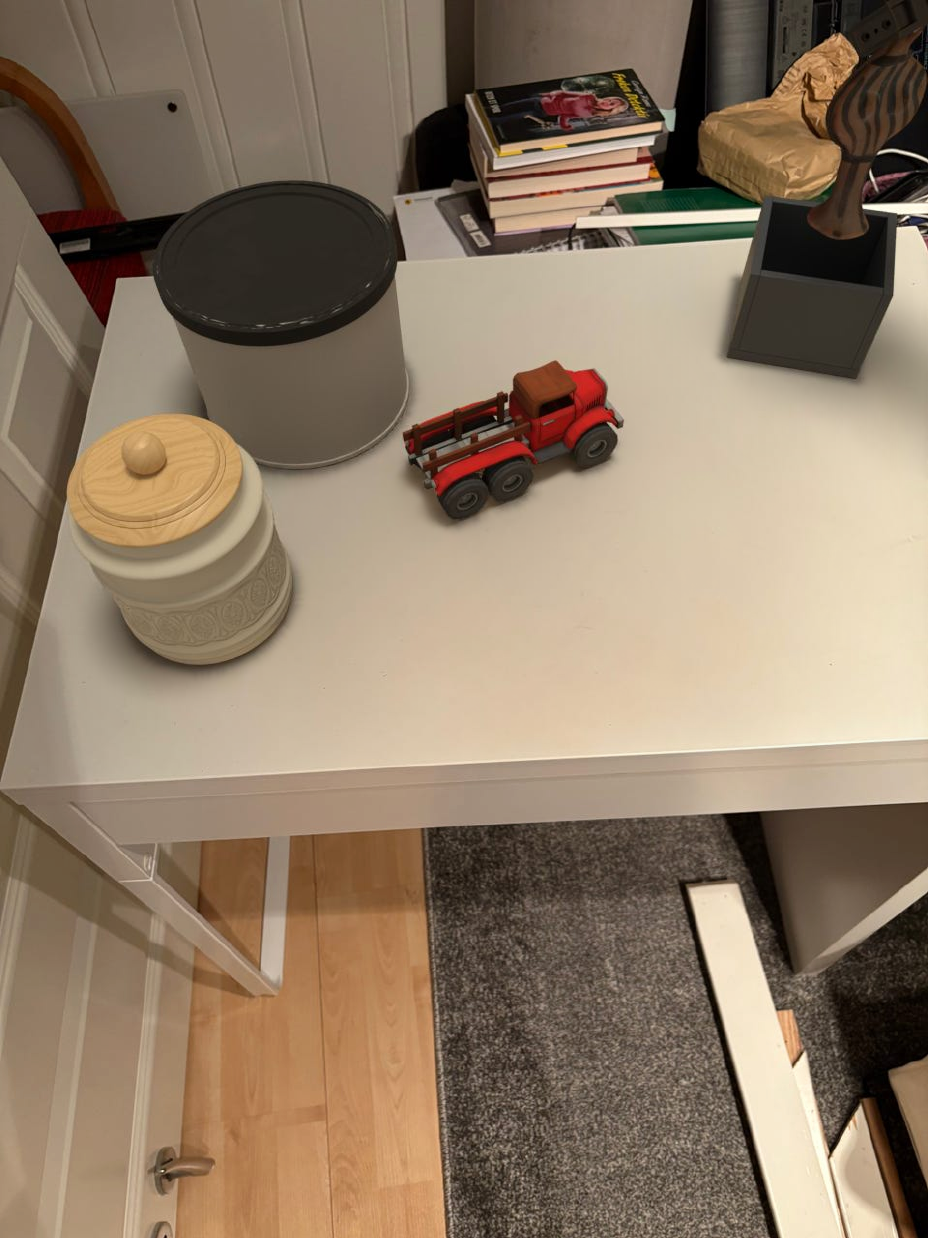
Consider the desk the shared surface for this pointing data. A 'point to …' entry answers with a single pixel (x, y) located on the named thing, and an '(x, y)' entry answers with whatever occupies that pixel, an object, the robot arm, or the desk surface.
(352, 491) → the desk surface
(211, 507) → the jar
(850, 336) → the bin
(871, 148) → the figurine
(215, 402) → the container
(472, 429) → the toy truck
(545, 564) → the desk surface
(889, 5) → the robot arm
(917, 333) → the desk surface
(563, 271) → the desk surface
